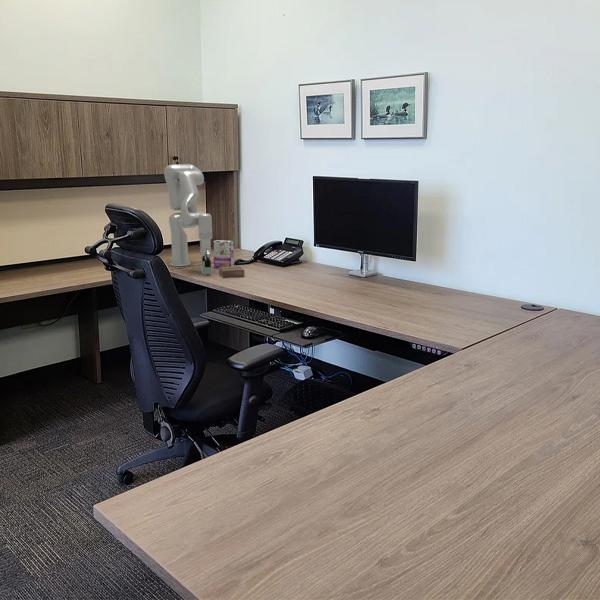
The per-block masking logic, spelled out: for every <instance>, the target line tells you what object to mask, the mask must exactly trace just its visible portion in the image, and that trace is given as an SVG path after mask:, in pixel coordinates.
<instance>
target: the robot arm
mask: <svg viewBox="0 0 600 600" xmlns="http://www.w3.org/2000/svg"><path fill="white" fill-rule="evenodd" d="M163 173H164V179H165V182H166V185H167V190H168V191H167V192H168V200H169V205H170V208H171V210H173V211H180V212H174V213H171V214H170V215H169V217H168V223H169V228H170V237H171V238H170V240H171V241H170V242H171V257H172V258H171V259H172V260H171V262H169V266H171V267H187V266H188V267H189V266H190V265H191V264H192V263H191V262H190V261H189V254H188V253H189V251H188V246H189V245H188V235H187V233H186V231H185V229H192V228H196V227H197V228H198V229H197V230H198V239H199V254H200V256H201V261H205V267H206V268H207V267H211V268H212V262H211V261H212V260H211V256H212V247H211V246H212V243H211V240H212V239H213V223H212V221H213V219H212V217H213V216H212V215H211V213H206V212H205V211H202V212H201V211H198V204H197V199H198V198H199V196H200V193H199V190H198V187H197V186H201V185H203V184H204V182H205V177H204V174H203V172H202V171H201V170H200V169H199V168H198V167H196V166H195V165H193V164H192V163H191V164H188V163H187V164H186V163H183V164H180V163H179V164H177V163H176V164H175V163H173V164H168V165H167V166H165V169H164V172H163Z"/></svg>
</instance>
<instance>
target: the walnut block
mask: <svg viewBox="0 0 600 600" xmlns="http://www.w3.org/2000/svg"><path fill="white" fill-rule="evenodd" d="M218 274H219V275H220V276H221V278H222V277H223V279H226V278H227V279H229V277H234V278H245V269H244V268H242V267H241V265H236V266H235V265H234V266H229V267H219V268H218Z"/></svg>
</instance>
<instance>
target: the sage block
mask: <svg viewBox="0 0 600 600" xmlns="http://www.w3.org/2000/svg"><path fill="white" fill-rule="evenodd" d="M201 273H202V274H201ZM200 274H201V275H202V276H207V274H211V275H212V266H211V267H207V268H206V267H205V261H202V260H201V261H200Z"/></svg>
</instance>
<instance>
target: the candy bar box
mask: <svg viewBox="0 0 600 600" xmlns="http://www.w3.org/2000/svg"><path fill="white" fill-rule="evenodd" d="M234 253H235V251H234V240H223V239H221V240H219V239H216V240H213V268H214V269H219V267H229V266H235V260H234V258H235V256H234Z"/></svg>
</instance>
